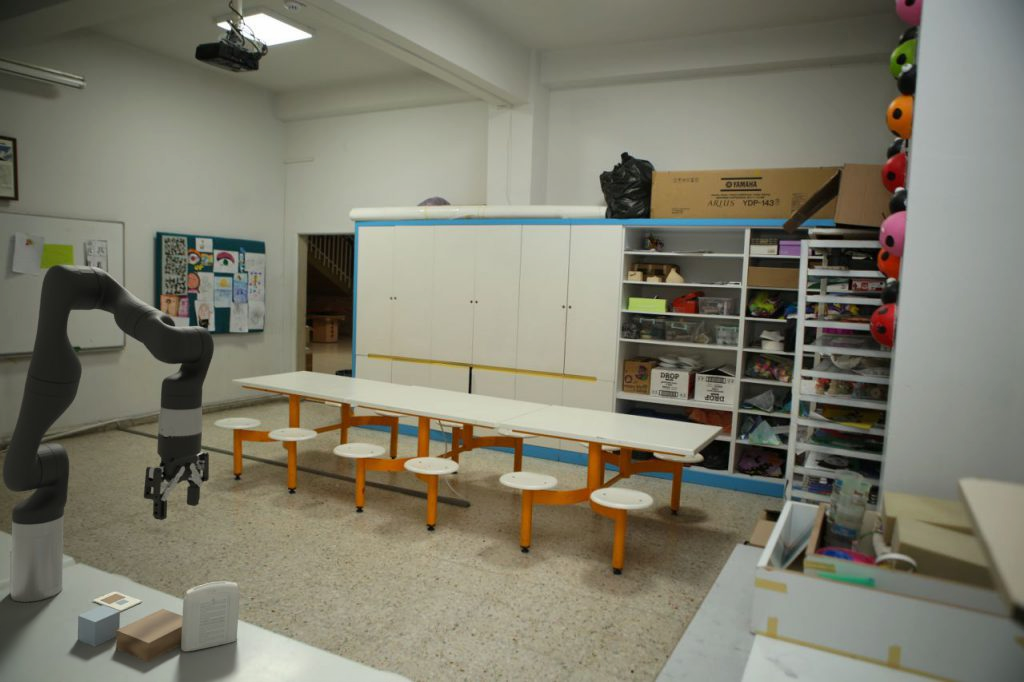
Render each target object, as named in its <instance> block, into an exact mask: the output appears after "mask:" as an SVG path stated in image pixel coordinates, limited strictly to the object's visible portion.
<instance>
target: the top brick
mask: <svg viewBox="0 0 1024 682" xmlns="http://www.w3.org/2000/svg"><path fill="white" fill-rule="evenodd" d="M120 615H121V612H120V611H118V610H115V609H113V608H110V607H107V606H105V605H99V606H97V607H95V608H93V609H91V610H88V611H86V612H83V613H81V614H78V617H77V618H78V619H77V640H78V641H80V642H82V643H85V644H87V645H89V646H92V647H97V646H99V645H101V644H103V643H105V642H107V641H109V640H111V639H114V638H115V637H116V632H117V630H118V629H120V625H121V624H120V623H121V622H120V618H121V617H120Z"/></svg>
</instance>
